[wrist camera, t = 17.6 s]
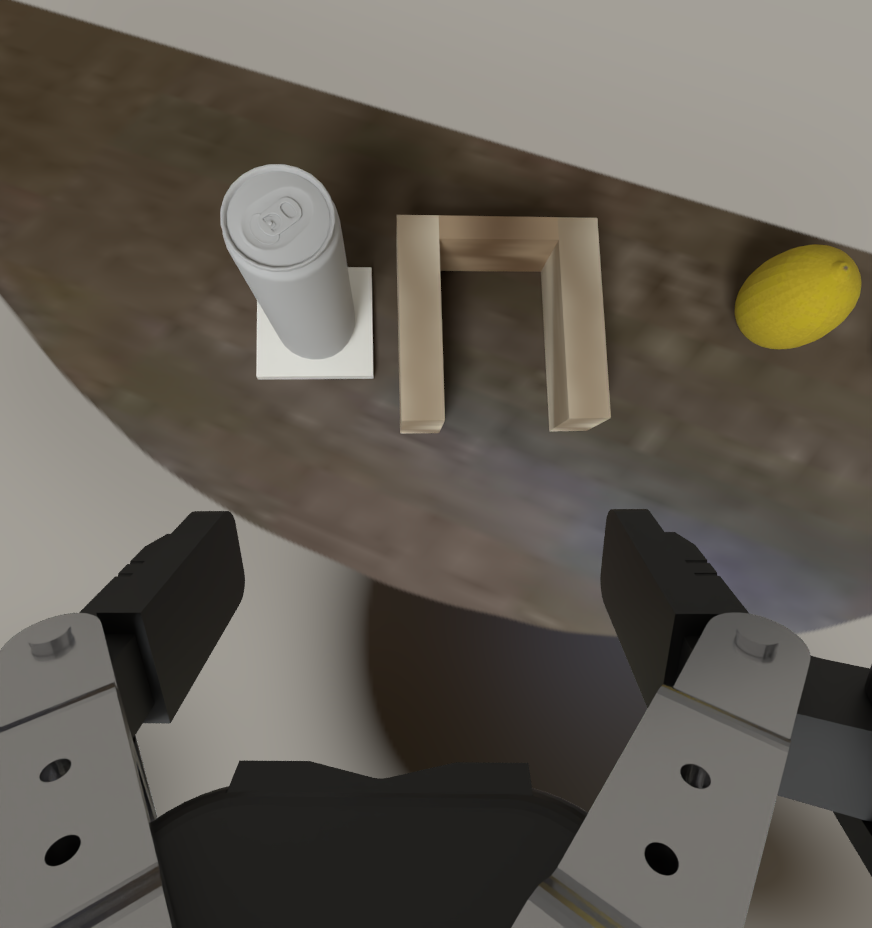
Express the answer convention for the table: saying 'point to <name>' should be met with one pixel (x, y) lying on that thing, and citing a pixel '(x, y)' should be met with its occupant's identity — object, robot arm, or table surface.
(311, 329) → the beverage can
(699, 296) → the table surface
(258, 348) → the tile
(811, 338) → the lemon
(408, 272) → the lane rack
